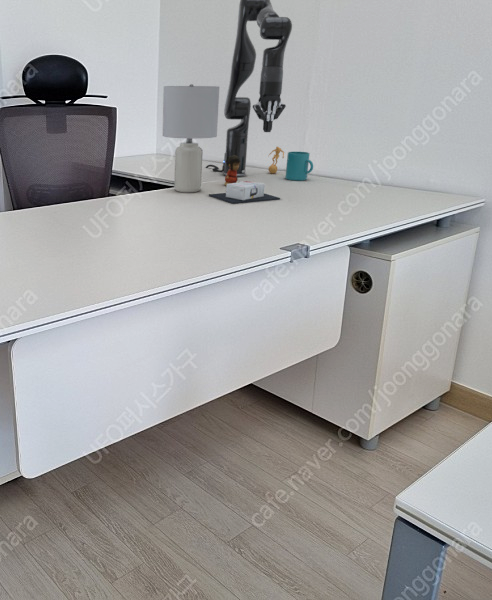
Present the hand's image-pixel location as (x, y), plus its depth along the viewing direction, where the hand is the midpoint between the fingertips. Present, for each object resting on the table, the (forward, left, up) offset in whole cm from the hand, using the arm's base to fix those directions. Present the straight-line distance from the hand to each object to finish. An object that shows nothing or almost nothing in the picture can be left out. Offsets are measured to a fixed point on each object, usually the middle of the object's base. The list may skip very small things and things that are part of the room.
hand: (267, 132), depth 212 cm
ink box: (0, -3, -20) cm, 20 cm away
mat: (0, -8, -23) cm, 24 cm away
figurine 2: (-44, +38, -23) cm, 63 cm away
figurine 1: (-24, +2, -23) cm, 33 cm away
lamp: (-20, -20, -23) cm, 37 cm away
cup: (-25, +37, -23) cm, 50 cm away
